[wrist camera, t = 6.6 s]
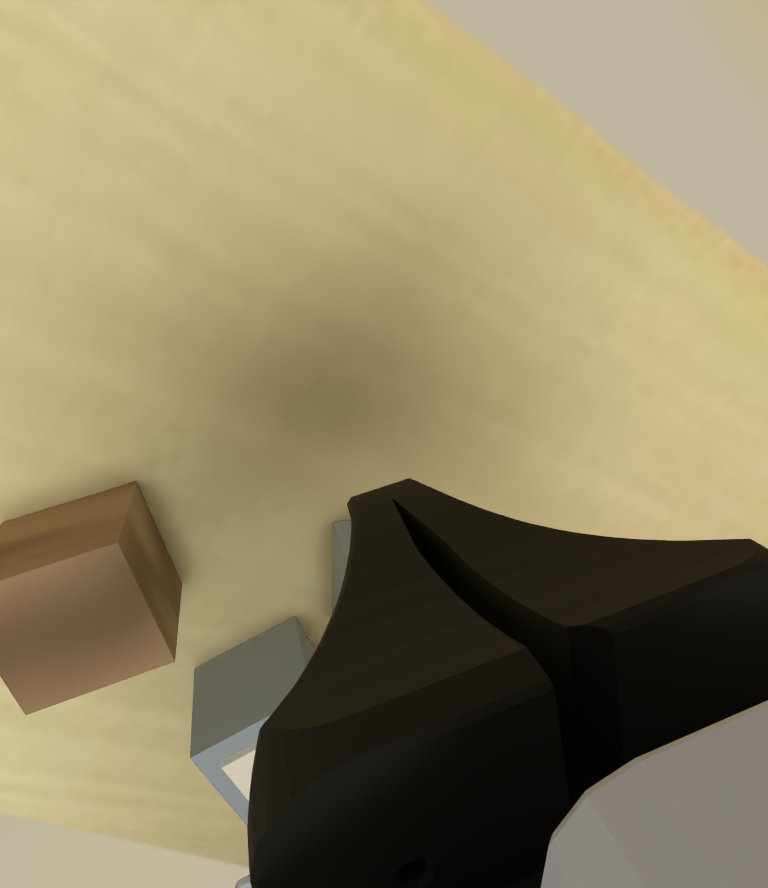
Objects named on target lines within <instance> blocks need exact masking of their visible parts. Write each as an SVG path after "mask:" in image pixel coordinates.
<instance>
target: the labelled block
mask: <svg viewBox="0 0 768 888" xmlns="http://www.w3.org/2000/svg"><path fill="white" fill-rule="evenodd" d="M315 650H316V649H315V648H314V646H313V644H312V643H311V641H310V639H309V638H308V636H307V635H306V633H305V631H304V630H303V628H302V627H301V625H300V623H299V622H298V620H297V618H296V617H295V616H294V617H292V618H290V619H288V620H286V621H284V622H282V623H280V624H279V625H277V626H275V627H273V628H271V629H269V630H267V631H265V632H263V633H261V634H259V635H258V636H256V637H254V638H252V639H250V640H248V641H246V642H244V643H242V644H240V645H238V646H237V647H235V648H233V649H231V650H229V651H227V652H225V653H223V654H221V655H219V656H217V657H215V658H214V659H212V660H210V661H208V662H206V663H204V664H202V665H200V666H198V667H196V668H195V669H194V690H193V710H192V731H191V751H190V759H191V760H192V761H193V762H194V763H195V765H196V766H197V767H198V768H199V769H200V770H201V772H202V773H203V774H204V775H205V776H206V778H207V779H208V780H209V781H210V782H211V784H212V785H213V786H214V787H215V788H216V789H217V791H218V792H219V793H220V794H221V795H222V797H223V798H224V799H225V800H226V801H227V802H228V804H229V805H230V806H231V807H232V808H233V810H234V811H235V812H236V813H237V814H238V815H239V817H240V818H241V819H242V820H243V821H244V823H245V824H246V825H247V826H248V807H249V794H250V784H251V776H252V769H253V762H254V756H255V750H256V745H257V739H258V734H259V730H260V728H261V727H262V725H263V724H264V723H265V722H266V720H267V719H268V718H269V717H270V716H271V714H272V713H273V712H274V711H275V709H276V708H277V707H278V706H279V704H280V703H281V702H282V701H283V699H284V698H285V697H286V695H287V694H288V693H289V692H290V690H291V689H292V688H293V687H294V685H295V684H296V682H297V681H298V679H299V677H300V676H301V674H302V672H303V671H304V669H305V667H306V666H307V664H308V662H309V661H310V659H311V657H312V655H313V654H314V652H315Z"/></svg>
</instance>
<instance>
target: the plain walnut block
mask: <svg viewBox="0 0 768 888" xmlns="http://www.w3.org/2000/svg"><path fill="white" fill-rule="evenodd" d="M181 589H182V582H181V580H180V578H179V576H178V573H177V571H176V569H175V567H174V564H173V562H172V560H171V558H170V555H169V553H168V551H167V549H166V546H165V544H164V542H163V540H162V537H161V535H160V533H159V531H158V528H157V526H156V524H155V522H154V519H153V517H152V515H151V512H150V510H149V508H148V506H147V503H146V501H145V499H144V497H143V494H142V492H141V490H140V488H139V485H138V483H137V481H135V482H132V483H129V484H126V485H122V486H119V487H116V488H113V489H109V490H106V491H103V492H100V493H96V494H93V495H90V496H86V497H83V498H80V499H77V500H73V501H70V502H67V503H64V504H60V505H57V506H54V507H51V508H47V509H44V510H41V511H38V512H34V513H31V514H28V515H25V516H21V517H18V518H15V519H12V520H8V521H5V522H3V523H2V524H1V525H0V676H1V678H2V679H3V681H4V683H5V684H6V686H7V687H8V689H9V690H10V692H11V693H12V695H13V696H14V698H15V700H16V701H17V703H18V704H19V706H20V707H21V709H22V710H23V712H24V713H25V715H28V714H30V713H33V712H36V711H39V710H41V709H44V708H47V707H50V706H53V705H55V704H58V703H61V702H64V701H66V700H69V699H72V698H75V697H78V696H80V695H83V694H86V693H89V692H91V691H94V690H97V689H100V688H102V687H105V686H108V685H111V684H114V683H116V682H119V681H122V680H125V679H127V678H130V677H133V676H136V675H139V674H141V673H144V672H147V671H150V670H152V669H155V668H158V667H161V666H163V665H166V664H169V663H172V662H175V655H176V644H177V633H178V622H179V611H180V600H181Z"/></svg>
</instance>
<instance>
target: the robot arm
mask: <svg viewBox="0 0 768 888" xmlns="http://www.w3.org/2000/svg"><path fill="white" fill-rule="evenodd" d="M347 506H348V509H349V513H350V516H351V538H350V549H349V556H348V561H347V566H346V571H345V576H344V580H343V584H342V587H341V591H340V594H339V597H338V600H337V603H336V606H335V609H334V611H333V614H332V616H331V618H330V621H329V623H328V625H327V628H326V630H325V632H324V635H323V637H322V639H321V641H320V643H319V645H318V647H317V649H316V650H315V652H314V654H313V655H312V657H311V659H310V661H309V662H308V664H307V666H306V667H305V669H304V671H303V672H302V674H301V676H300V677H299V679H298V681H297V682H296V684H295V685H294V687H293V688H292V689H291V690H290V692H289V693H288V694H287V695H286V697H285V698H284V699H283V701H282V702H281V703H280V704H279V706H278V707H277V708H276V709H275V711H274V712H273V713H272V714H271V716H270V717H269V718H268V719H267V720H266V722H265V723H264V724H263V725H262V727H261V728H260V730H259V734H258V739H257V745H256V750H255V756H254V762H253V769H252V776H251V784H250V794H249V807H248V826H247V829H248V851H249V870H250V875H248V876H246V877H244V878H242V879H240V880H239V881H238V882H237V883H236V886H235V888H768V549H767V548H765V547H764V546H762V545H760V544H758V543H757V542H755V541H753V540H751V539H729V540H695V541H666V540H641V539H626V538H614V537H605V536H597V535H589V534H581V533H574V532H569V531H563V530H557V529H553V528H548V527H544V526H539V525H535V524H530V523H526V522H522V521H519V520H515V519H512V518H509V517H505V516H502V515H499V514H496V513H493V512H490V511H487V510H484V509H481V508H479V507H476V506H473V505H471V504H468V503H466V502H463V501H461V500H458V499H456V498H453V497H451V496H449V495H446V494H444V493H442V492H440V491H437V490H435V489H433V488H431V487H428V486H426V485H424V484H422V483H419V482H417V481H415V480H412V479H410V478H409V479H406V480H403V481H400V482H396V483H393V484H390V485H387V486H384V487H381V488H378V489H375V490H372V491H369V492H366V493H363V494H360V495H357V496H353V497H351V498H350V500H349V502H348V503H347Z"/></svg>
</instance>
